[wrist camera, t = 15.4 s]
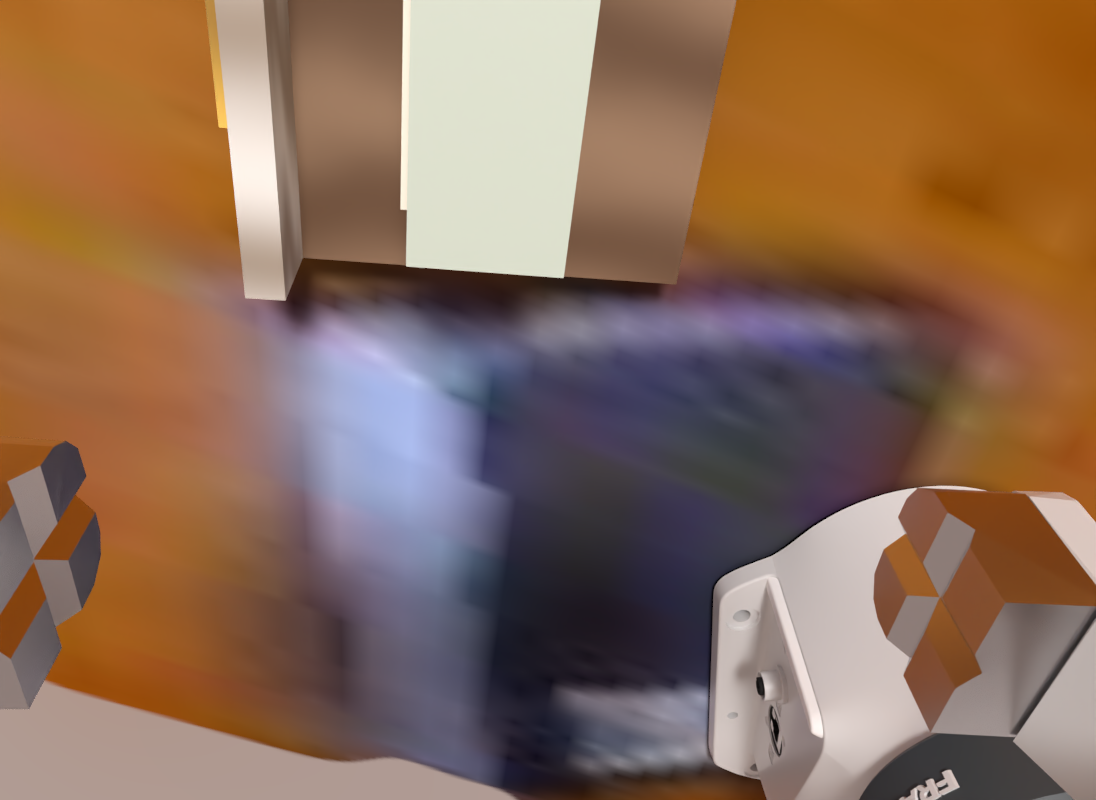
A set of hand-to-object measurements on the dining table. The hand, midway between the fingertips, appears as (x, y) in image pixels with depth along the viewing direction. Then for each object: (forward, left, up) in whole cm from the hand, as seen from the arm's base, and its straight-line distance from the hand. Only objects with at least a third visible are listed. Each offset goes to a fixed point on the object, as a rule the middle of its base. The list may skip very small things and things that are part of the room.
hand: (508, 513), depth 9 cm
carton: (0, 0, -20) cm, 20 cm away
